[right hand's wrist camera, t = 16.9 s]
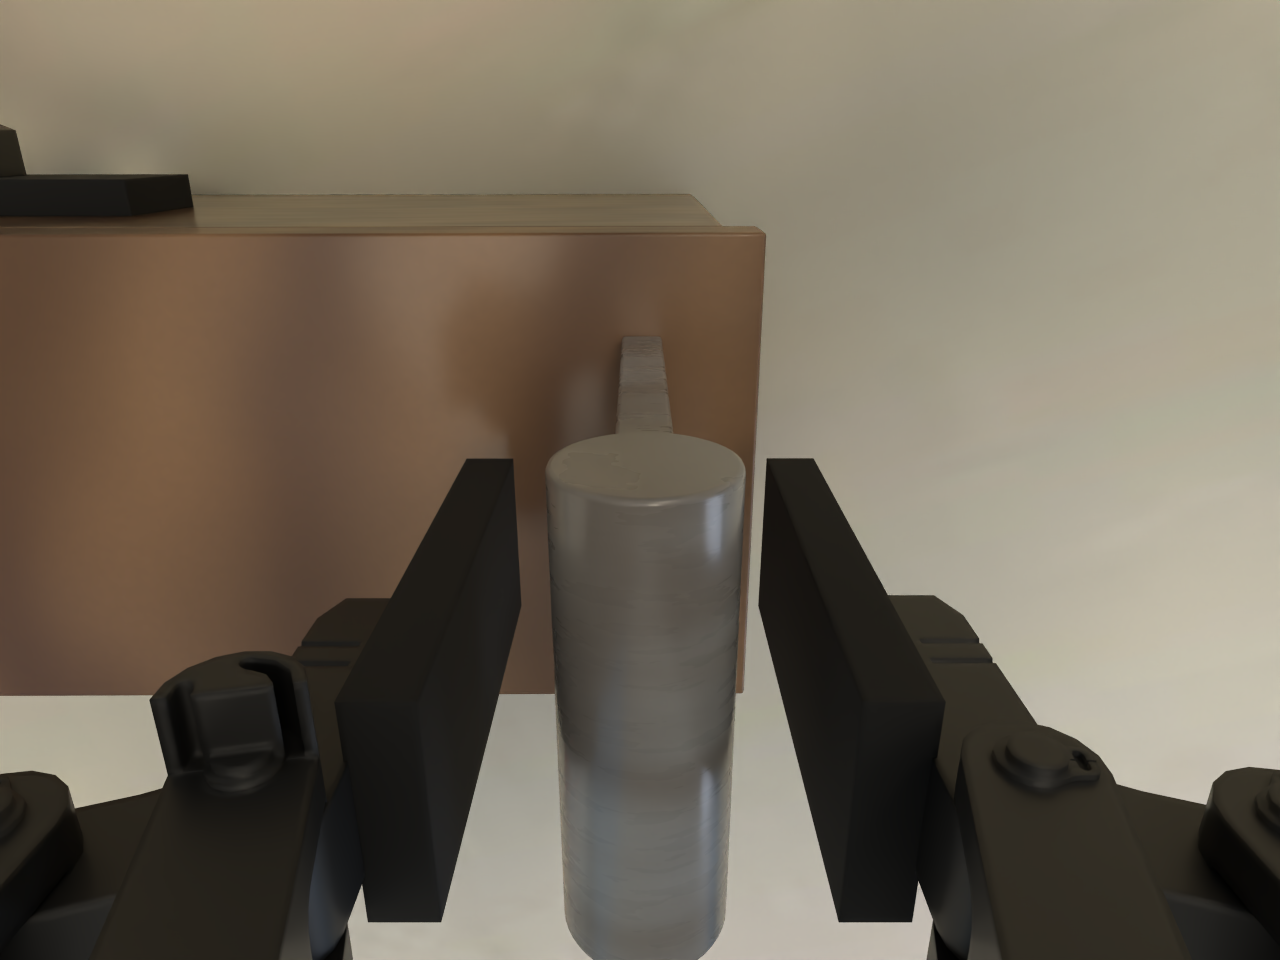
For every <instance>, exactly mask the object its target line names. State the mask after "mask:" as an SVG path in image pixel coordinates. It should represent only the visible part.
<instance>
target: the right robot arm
mask: <svg viewBox="0 0 1280 960" xmlns="http://www.w3.org/2000/svg"><path fill="white" fill-rule="evenodd" d="M521 606H522V605H521V587H520V569H519V552H518V534H517V516H516V499H515V481H514V464H513V458H467V459H466V461H465V462H464V464H463V466H462V468H461V470H460V472H459V473H458V475H457V477H456V479H455V481H454V483H453V484H452V486H451V488H450V490H449V492H448V494H447V496H446V497H445V499H444V501H443V503H442V505H441V507H440V508H439V510H438V512H437V514H436V516H435V518H434V519H433V521H432V523H431V525H430V527H429V529H428V530H427V532H426V534H425V536H424V538H423V540H422V541H421V543H420V545H419V547H418V549H417V551H416V553H415V554H414V556H413V558H412V560H411V562H410V564H409V565H408V567H407V569H406V571H405V573H404V575H403V576H402V578H401V580H400V582H399V584H398V586H397V587H396V589H395V591H394V593H393V595H392V597H391V598H346V599H344V600H343V601H342V602H340V603H339V604H337V605H336V606H334V607H333V608H331V609H330V610H328V611H327V612H326V613H324V614H323V615H321V616H320V617H318V618H317V619H316V621H315V622H314V624H313V625H312V627H311V628H310V630H309V631H308V633H307V634H306V636H305V637H304V639H303V640H302V641H301V646H298V647H297V649H296V650H295V652H294V653H293V655H292V656H289V655H285V654H281V653H277V652H273V651H243V652H238V653H233V654H228V655H223V656H218V657H214V658H212V659H209V660H207V661H204V662H201V663H199V664H196V665H194V666H191V667H188V668H186V669H185V670H183V671H182V672H180V673H179V674H177V675H176V676H174V677H172V678H171V679H169V680H168V681H166V682H165V683H163V685H162V686H161V687H160V688H159V689H158V690H157V692H156V693H155V694H154V695H153V696H152V698H151V699H150V704H151V708H152V712H153V716H154V720H155V724H156V728H157V732H158V737H159V741H160V745H161V749H162V753H163V757H164V761H165V765H166V769H167V773H168V777H167V779H166V781H165V783H164V786H163V788H162V789H158V790H155V791H151V792H147V793H144V794H140V795H136V796H131V797H127V798H122V799H117V800H113V801H108V802H103V803H99V804H94V805H89V806H85V807H80V808H74V804H73V801H72V798H71V794H70V791H69V788H68V786H67V785H66V784H65V783H64V782H63V781H61V780H60V779H59V778H58V777H57V776H56V775H52V774H47V773H41V772H36V771H25V772H16V773H6V774H0V960H353V957H352V950H351V942H350V936H349V930H348V924H347V923H348V920H349V917H350V915H351V912H352V909H353V907H354V904H355V901H356V899H357V896H358V893H359V890H360V888H361V885H362V886H363V892H364V899H365V905H366V912H367V918H368V922H441V921H442V917H443V913H444V909H445V905H446V901H447V897H448V893H449V889H450V885H451V881H452V877H453V874H454V870H455V866H456V862H457V858H458V854H459V850H460V846H461V842H462V838H463V834H464V830H465V826H466V822H467V818H468V815H469V811H470V807H471V803H472V799H473V795H474V791H475V787H476V783H477V779H478V775H479V771H480V767H481V763H482V759H483V755H484V752H485V748H486V744H487V740H488V736H489V732H490V728H491V724H492V720H493V716H494V712H495V708H496V704H497V700H498V696H499V693H500V689H501V685H502V681H503V677H504V673H505V669H506V665H507V661H508V657H509V653H510V649H511V645H512V641H513V637H514V634H515V630H516V626H517V622H518V618H519V614H520V610H521ZM758 606H759V610H760V614H761V618H762V622H763V626H764V630H765V633H766V637H767V641H768V645H769V649H770V653H771V657H772V661H773V665H774V669H775V673H776V677H777V681H778V685H779V689H780V692H781V696H782V700H783V704H784V708H785V712H786V716H787V720H788V724H789V728H790V732H791V736H792V740H793V744H794V748H795V752H796V755H797V759H798V763H799V767H800V771H801V775H802V779H803V783H804V787H805V791H806V795H807V799H808V803H809V807H810V811H811V814H812V818H813V822H814V826H815V830H816V834H817V838H818V842H819V846H820V850H821V854H822V858H823V862H824V866H825V870H826V873H827V877H828V881H829V885H830V889H831V893H832V897H833V901H834V905H835V909H836V913H837V917H838V921H839V922H912V919H913V912H914V906H915V899H916V893H917V886H918V881H919V883H920V886H921V889H922V891H923V894H924V897H925V899H926V902H927V905H928V907H929V910H930V913H931V915H932V918H933V924H932V930H931V936H930V942H929V948H928V954H927V960H1280V770H1274V769H1264V768H1254V767H1246V768H1241V769H1235V770H1230V771H1226V772H1224V773H1223V774H1222V775H1221V776H1220V777H1219V778H1218V779H1216V780H1215V781H1214V782H1213V784H1212V788H1211V791H1210V794H1209V798H1208V801H1207V804H1206V805H1204V804H1199V803H1195V802H1190V801H1185V800H1181V799H1176V798H1171V797H1167V796H1162V795H1157V794H1152V793H1148V792H1143V791H1139V790H1136V789H1132V788H1128V787H1125V786H1121V785H1118V784H1116V782H1115V780H1114V777H1113V775H1112V773H1111V772H1110V771H1109V769H1108V768H1107V766H1106V765H1105V764H1104V762H1103V761H1102V760H1101V758H1100V757H1099V756H1098V755H1097V754H1096V753H1094V752H1093V751H1092V750H1090V749H1089V748H1088V747H1086V746H1085V745H1084V744H1082V743H1081V742H1080V741H1078V740H1077V739H1075V738H1072V737H1070V736H1068V735H1066V734H1063V733H1061V732H1059V731H1057V730H1054V729H1052V728H1050V727H1046V726H1041V725H1037V723H1036V722H1035V720H1034V719H1033V717H1032V716H1031V714H1030V713H1029V711H1028V710H1027V708H1026V707H1025V705H1024V704H1023V703H1022V701H1021V700H1020V698H1019V697H1018V695H1017V694H1016V692H1015V691H1014V689H1013V688H1012V686H1011V685H1010V683H1009V682H1008V680H1007V679H1006V677H1005V676H1004V675H1003V673H1002V672H1001V670H1000V669H999V667H998V666H997V664H996V663H993V662H992V657H991V655H990V654H989V652H988V651H987V650H986V648H985V647H984V645H983V644H982V643H979V638H978V636H977V635H976V633H975V632H974V630H973V629H972V627H971V626H970V625H969V623H968V622H967V620H966V619H965V617H964V616H963V615H962V614H960V613H959V612H958V611H956V610H955V609H953V608H952V607H950V606H949V605H947V604H946V603H944V602H943V601H941V600H940V599H939V598H937V597H936V596H934V595H887V593H886V591H885V589H884V587H883V586H882V584H881V582H880V580H879V578H878V576H877V575H876V573H875V571H874V569H873V567H872V565H871V564H870V562H869V560H868V558H867V556H866V554H865V552H864V551H863V549H862V547H861V545H860V543H859V541H858V540H857V538H856V536H855V534H854V532H853V530H852V529H851V527H850V525H849V523H848V521H847V519H846V518H845V516H844V514H843V512H842V510H841V508H840V507H839V505H838V503H837V501H836V499H835V497H834V495H833V494H832V492H831V490H830V488H829V486H828V484H827V483H826V481H825V479H824V477H823V475H822V473H821V472H820V470H819V468H818V466H817V464H816V462H815V461H814V459H813V458H767V464H766V481H765V499H764V517H763V534H762V552H761V570H760V587H759V605H758Z"/></svg>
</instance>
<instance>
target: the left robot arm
mask: <svg viewBox="0 0 1280 960" xmlns="http://www.w3.org/2000/svg"><path fill="white" fill-rule="evenodd" d="M189 207H194V206H193V201H192V195H191V190H190V184H189V178H188V174H115V175H26V171H25V167H24V163H23V159H22V155H21V151H20V147H19V143H18V138H17V134H16V130H13V129H11V128H8V127H6V126H3V125H0V216H136V215H143V214H149V213H156V212H162V211H169V210H176V209H182V208H189Z"/></svg>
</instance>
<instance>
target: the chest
mask: <svg viewBox="0 0 1280 960" xmlns="http://www.w3.org/2000/svg"><path fill="white" fill-rule="evenodd" d="M192 201H193V206H194V207H189V208H182V209H176V210H169V211H162V212H156V213H149V214H143V215H136V216H0V228H205V227H683V226H722V225H721V224H720V223H719V222H718V221H717V220H716V219H715V218H714V217H713V216H712V215H711V214H710V213H709V212H708V211H707V210H706V209H705V208H704V207H703V206H702V205H701V204H700V203H699V202H698V201H697V200H696V199H695V198H694V197H693V196H692V195H690V194H496V195H192Z"/></svg>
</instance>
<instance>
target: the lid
mask: <svg viewBox="0 0 1280 960" xmlns="http://www.w3.org/2000/svg"><path fill="white" fill-rule="evenodd" d="M765 247H766V234H765V233H764V232H763V231H761V230H760V229H759V228H757V227H755V226H683V227H205V228H0V696H67V695H154V694H155V693H156V692H157V690H158V689H159V688H160V687H161V686H162V685H163V683H165V682H166V681H168V680H169V679H171V678H172V677H174V676H176V675H177V674H179V673H180V672H182V671H183V670H185V669H186V668H188V667H191V666H194V665H196V664H199V663H201V662H204V661H207V660H209V659H212V658H214V657H218V656H223V655H228V654H233V653H238V652H243V651H273V652H277V653H281V654H285V655H289V656H292V655H293V653H294V652H295V650H296V649H297V647H298V646H301V641H302V640H303V639H304V637H305V636H306V634H307V633H308V631H309V630H310V628H311V627H312V625H313V624H314V622H315V621H316V619H317V618H318V617H320V616H321V615H323V614H324V613H326V612H327V611H328V610H330V609H331V608H333V607H334V606H336V605H337V604H339V603H340V602H342V601H343V600H344V599H346V598H391V597H392V595H393V593H394V591H395V589H396V587H397V586H398V584H399V582H400V580H401V578H402V576H403V575H404V573H405V571H406V569H407V567H408V565H409V564H410V562H411V560H412V558H413V556H414V554H415V553H416V551H417V549H418V547H419V545H420V543H421V541H422V540H423V538H424V536H425V534H426V532H427V530H428V529H429V527H430V525H431V523H432V521H433V519H434V518H435V516H436V514H437V512H438V510H439V508H440V507H441V505H442V503H443V501H444V499H445V497H446V496H447V494H448V492H449V490H450V488H451V486H452V484H453V483H454V481H455V479H456V477H457V475H458V473H459V472H460V470H461V468H462V466H463V464H464V462H465V461H466V459H467V458H513V464H514V481H515V499H516V516H517V534H518V552H519V569H520V587H521V605H522V606H521V610H520V614H519V618H518V622H517V626H516V630H515V634H514V637H513V641H512V645H511V649H510V653H509V657H508V661H507V665H506V669H505V673H504V677H503V681H502V685H501V689H500V693H499V694H555V705H556V727H557V750H558V772H559V795H560V817H561V839H562V862H563V884H564V907H565V917H566V922H567V925H568V928H569V930H570V932H571V934H572V936H573V938H574V939H575V941H576V942H577V944H578V945H579V947H580V948H581V949H582V950H583V951H584V952H585V953H586V954H587V955H588V956H589V957H591V958H592V959H593V960H698V959H699V958H700V957H701V956H703V955H704V954H705V953H706V952H707V951H708V950H709V949H710V947H711V946H712V945H713V943H714V942H715V941H716V939H717V938H718V936H719V934H720V932H721V930H722V927H723V924H724V920H725V913H726V895H727V873H728V851H729V830H730V808H731V786H732V764H733V742H734V721H735V699H736V693H742V692H743V690H744V670H745V650H746V630H747V610H748V590H749V570H750V549H751V529H752V509H753V489H754V469H755V449H756V429H757V408H758V388H759V368H760V348H761V328H762V308H763V288H764V267H765Z"/></svg>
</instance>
